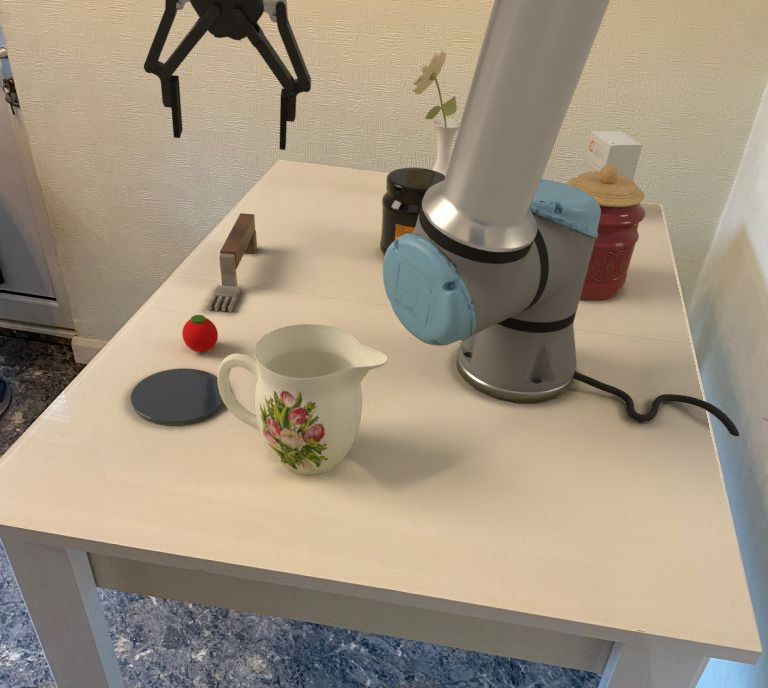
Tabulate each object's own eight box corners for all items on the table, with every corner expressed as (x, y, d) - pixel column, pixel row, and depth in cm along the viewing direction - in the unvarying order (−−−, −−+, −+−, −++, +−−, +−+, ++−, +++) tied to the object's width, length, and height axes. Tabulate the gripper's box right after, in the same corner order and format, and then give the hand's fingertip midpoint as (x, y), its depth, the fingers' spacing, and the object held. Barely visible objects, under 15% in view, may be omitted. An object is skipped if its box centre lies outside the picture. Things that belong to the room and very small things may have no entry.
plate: (246, 393, 88) (245, 389, 88) (179, 437, 82) (179, 433, 81) (179, 362, 93) (178, 358, 92) (111, 402, 86) (110, 397, 85)
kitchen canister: (536, 293, 112) (562, 173, 100) (543, 259, 121) (567, 144, 109) (622, 307, 110) (659, 186, 98) (623, 271, 120) (656, 156, 107)
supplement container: (440, 272, 116) (449, 194, 107) (374, 263, 116) (378, 185, 108) (446, 245, 123) (455, 170, 115) (384, 237, 124) (389, 162, 116)
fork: (239, 247, 118) (236, 212, 114) (259, 248, 118) (257, 214, 114) (208, 310, 103) (204, 273, 99) (231, 312, 103) (228, 275, 99)
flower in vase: (439, 188, 142) (455, 37, 125) (481, 208, 136) (504, 52, 119) (388, 201, 136) (397, 44, 119) (429, 223, 130) (445, 60, 113)
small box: (622, 220, 136) (643, 144, 127) (591, 221, 135) (610, 145, 126) (603, 203, 142) (622, 130, 133) (573, 204, 140) (590, 130, 131)
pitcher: (244, 410, 86) (234, 301, 77) (393, 441, 83) (401, 332, 74) (203, 467, 78) (187, 354, 69) (366, 503, 75) (372, 390, 66)
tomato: (226, 348, 96) (223, 316, 93) (202, 362, 93) (198, 330, 90) (201, 337, 97) (197, 306, 94) (177, 351, 94) (172, 319, 91)
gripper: (338, -51, 86) (325, 139, 101) (116, -83, 83) (138, 117, 98) (338, -35, 81) (325, 162, 96) (102, -69, 78) (128, 140, 93)
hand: (230, 140), depth 97 cm, fingers open, 13 cm apart
